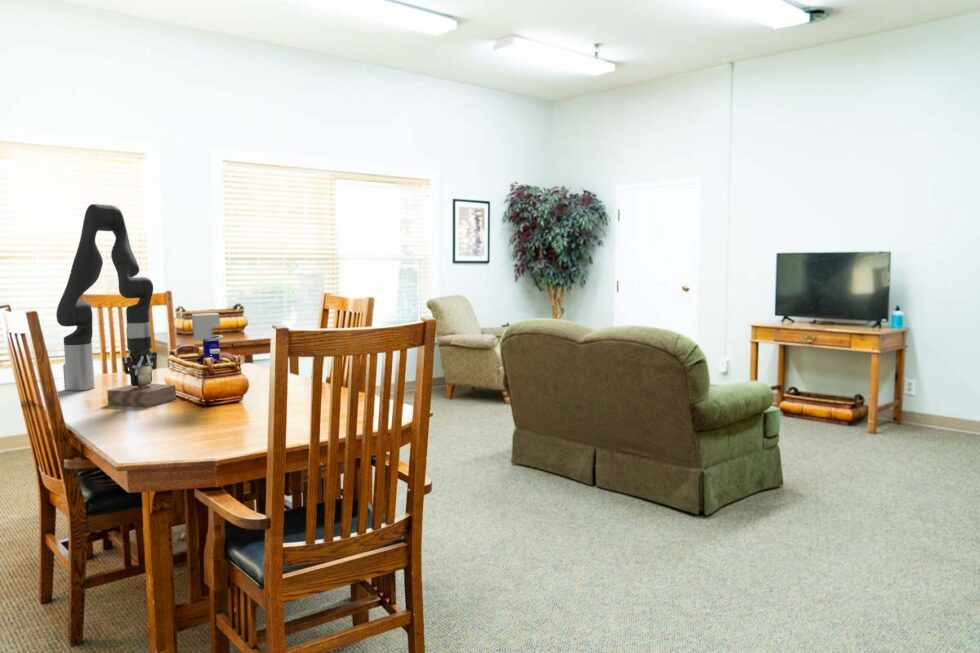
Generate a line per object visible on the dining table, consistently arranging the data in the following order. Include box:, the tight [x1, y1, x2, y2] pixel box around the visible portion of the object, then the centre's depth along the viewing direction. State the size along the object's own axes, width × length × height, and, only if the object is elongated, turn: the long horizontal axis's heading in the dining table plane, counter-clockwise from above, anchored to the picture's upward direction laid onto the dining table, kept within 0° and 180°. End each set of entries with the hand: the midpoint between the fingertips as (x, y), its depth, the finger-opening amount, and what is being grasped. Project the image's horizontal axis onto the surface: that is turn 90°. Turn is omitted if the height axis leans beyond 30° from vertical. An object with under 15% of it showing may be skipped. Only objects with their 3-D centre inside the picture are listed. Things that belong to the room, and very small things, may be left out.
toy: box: [191, 312, 225, 359], centre depth 257 cm, size 35×10×30 cm, turn 25°
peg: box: [133, 366, 152, 389], centre depth 255 cm, size 6×6×10 cm
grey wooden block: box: [106, 383, 177, 408], centre depth 256 cm, size 16×14×5 cm
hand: (141, 384), depth 255 cm, fingers closed on peg, 6 cm apart
